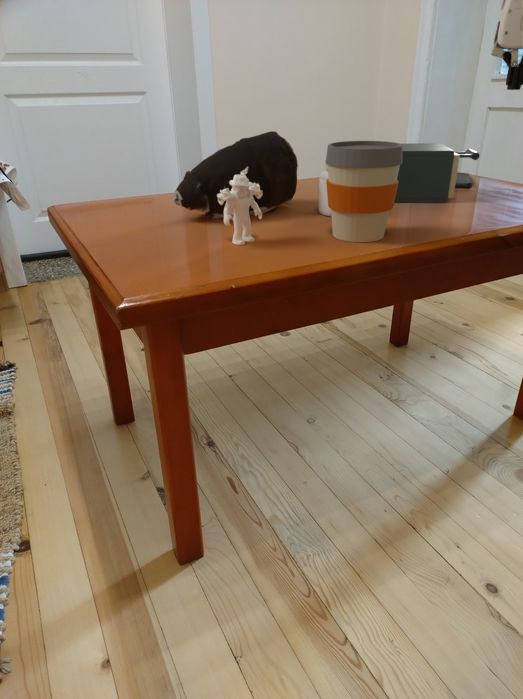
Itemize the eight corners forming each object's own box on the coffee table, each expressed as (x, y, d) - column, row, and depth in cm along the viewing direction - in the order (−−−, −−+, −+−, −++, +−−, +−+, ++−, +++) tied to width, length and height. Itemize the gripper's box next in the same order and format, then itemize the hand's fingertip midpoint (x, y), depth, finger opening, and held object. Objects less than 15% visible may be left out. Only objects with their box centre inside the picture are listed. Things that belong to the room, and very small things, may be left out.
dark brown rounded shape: (150, 156, 99) (256, 122, 108) (167, 227, 109) (263, 191, 118) (184, 176, 89) (298, 137, 98) (200, 252, 99) (302, 211, 108)
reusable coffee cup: (308, 232, 92) (311, 144, 85) (363, 222, 98) (369, 139, 91) (352, 249, 83) (358, 151, 76) (409, 238, 88) (421, 145, 81)
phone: (439, 182, 127) (439, 172, 140) (438, 186, 128) (438, 176, 140) (473, 183, 125) (469, 173, 138) (472, 187, 125) (468, 177, 138)
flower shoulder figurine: (253, 234, 92) (251, 164, 86) (269, 238, 89) (268, 166, 84) (215, 245, 86) (211, 171, 81) (230, 249, 84) (227, 173, 78)
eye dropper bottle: (318, 217, 102) (320, 153, 97) (318, 210, 107) (320, 150, 102) (339, 217, 102) (343, 153, 96) (339, 210, 107) (342, 150, 101)
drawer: (462, 187, 122) (469, 147, 118) (476, 198, 111) (484, 154, 107) (380, 187, 124) (383, 147, 120) (385, 197, 113) (389, 154, 109)
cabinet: (434, 190, 124) (441, 143, 119) (446, 202, 112) (454, 150, 107) (368, 190, 125) (372, 143, 120) (373, 202, 113) (378, 151, 108)
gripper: (498, -25, 91) (479, 90, 99) (587, -28, 89) (560, 89, 98) (487, -18, 97) (470, 89, 106) (569, -21, 96) (545, 88, 105)
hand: (513, 89), depth 102 cm, fingers closed
